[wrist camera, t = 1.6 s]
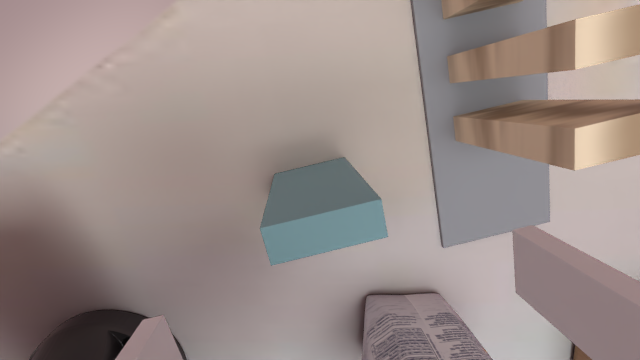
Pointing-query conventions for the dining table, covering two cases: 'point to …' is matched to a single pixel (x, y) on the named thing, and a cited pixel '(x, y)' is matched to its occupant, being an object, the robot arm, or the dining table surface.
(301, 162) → the dining table surface
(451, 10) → the tile
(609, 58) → the tile
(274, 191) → the end tile
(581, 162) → the tile
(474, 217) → the mat
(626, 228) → the dining table surface
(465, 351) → the juice carton
